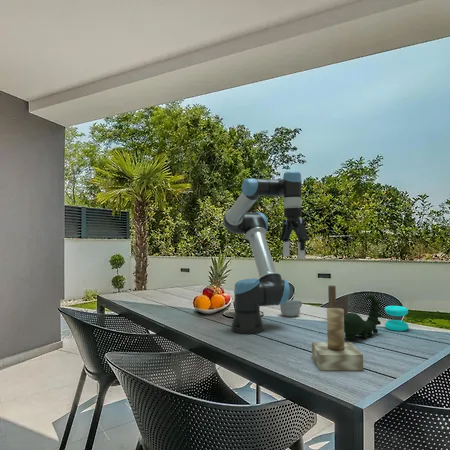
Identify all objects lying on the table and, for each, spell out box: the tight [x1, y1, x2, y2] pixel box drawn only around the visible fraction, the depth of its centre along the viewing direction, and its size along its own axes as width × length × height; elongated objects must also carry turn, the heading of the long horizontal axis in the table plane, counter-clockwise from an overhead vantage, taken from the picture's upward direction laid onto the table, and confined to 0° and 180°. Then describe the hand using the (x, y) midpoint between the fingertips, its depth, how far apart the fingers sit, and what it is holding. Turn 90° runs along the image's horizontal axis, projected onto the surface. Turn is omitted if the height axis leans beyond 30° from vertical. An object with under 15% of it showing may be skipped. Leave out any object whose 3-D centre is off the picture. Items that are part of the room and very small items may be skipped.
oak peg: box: [326, 307, 345, 351], centre depth 130 cm, size 6×6×18 cm
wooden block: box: [327, 285, 349, 315], centre depth 187 cm, size 4×11×18 cm, turn 29°
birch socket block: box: [311, 341, 364, 371], centre depth 130 cm, size 14×14×5 cm
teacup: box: [279, 299, 303, 318], centre depth 205 cm, size 14×11×8 cm
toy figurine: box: [344, 293, 382, 341], centre depth 161 cm, size 9×19×25 cm
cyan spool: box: [384, 305, 409, 332], centre depth 174 cm, size 10×10×10 cm
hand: (293, 257), depth 161 cm, fingers open, 13 cm apart
